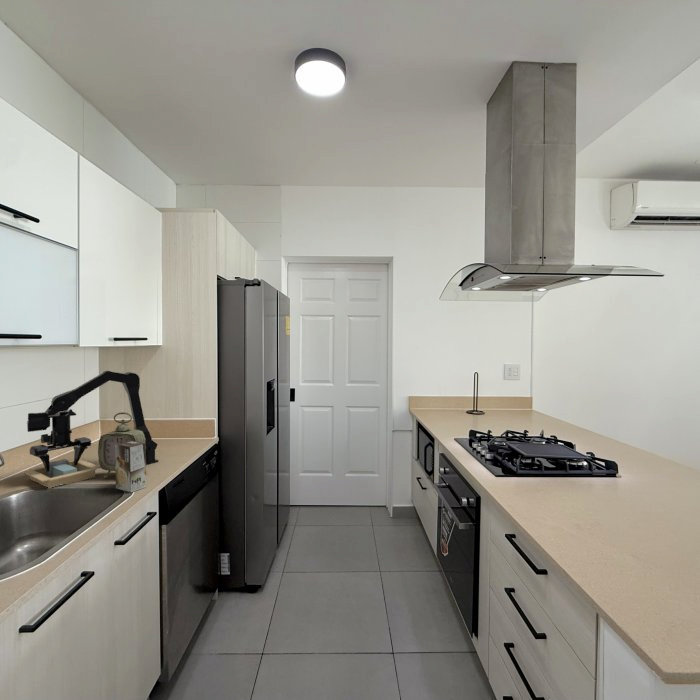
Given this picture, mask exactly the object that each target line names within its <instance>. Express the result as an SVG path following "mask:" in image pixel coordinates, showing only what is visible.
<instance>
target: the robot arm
mask: <svg viewBox="0 0 700 700" xmlns="http://www.w3.org/2000/svg"><path fill="white" fill-rule="evenodd" d="M140 380H141V379H140V376H139V375H138V374H137V373H136V372H135V373H134V372H130V371H127V372H124V373H122V372H115V371H111V370H105V371H104V370H103V372H101V373H100V374H99V375H98V374H97V376H94V377H92V378H90V379H89V380H88V381H86V382H84V383H83V384H81V385H79V386H78V387H75V388H74V389H71V390H68V391H66V392H62V393H60V394H58V395H55V396H54V397H53V398H52V400H51V401H50V406H49V407H48V408H46V410H45V411H44V412H29V413H27V420H26V421H27V422H26V427H27V429H26V431H27V432H28V433H30V432H39V431H41V432H42V431H46V430H47V429H49V428H50V427H51V431H50V435H49V433H45V434H41V435H40V442H41V444H38V445H33V446H32V445H31V446H30V448H29V455H32V456H34V457H36V458H39V459H40V460H41V462H42V464H43V466H45V468H46V471H47V472H49V469H50V465H49V462H50V454H49V452H51V451H55V450H61V449H67V448H71V447H73V450H74V455H73V456H74V457H73V460H74V465H75V466H76V465H77V463H78V461H79V460H80V458H81V457H82V455H83V453H84V452H85V450H86V449H88V447H91V446H92V440H91V439H90V438H89V437H85V436H84V437H83V436H82V437H77V438H74V441H72V440H71V434H72V433H73V430H72V429H71V417H72V416H76V415H77V413H76V412H75V411H73V409H71V407H72V406H73V405H75V404H76V403H77V402H78V401H79V400H80V399H81V398H82V397H84V396H86V395H87V394H89V393H90V392H93V391H94V390H96V389H98V388H99V387H101V386H103V385H104V384H106V383H108V382H109V381H110V382H116V383H121V384H122V386H123V388H124V390H125V392H126V394H127V397H128V401H129V402H128V403H129V407H130V411H131V416H132V421H133V429H134V430H140V431H143V433H144V436H145V442H146V465H150V464H155V463H158V462H159V459H156V450H157V447H158V443H157V442H155V441H154V440H153V439H152V435H151V433H150V431H149V429H148V426H147V425H146V423H145V417H144V412H143V407H142V403H141V402H142V401H141V398H140V388H141V387H140V386H141V385H140V383H141V381H140ZM67 410H68V411H67ZM45 444H46V445H45Z"/></svg>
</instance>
